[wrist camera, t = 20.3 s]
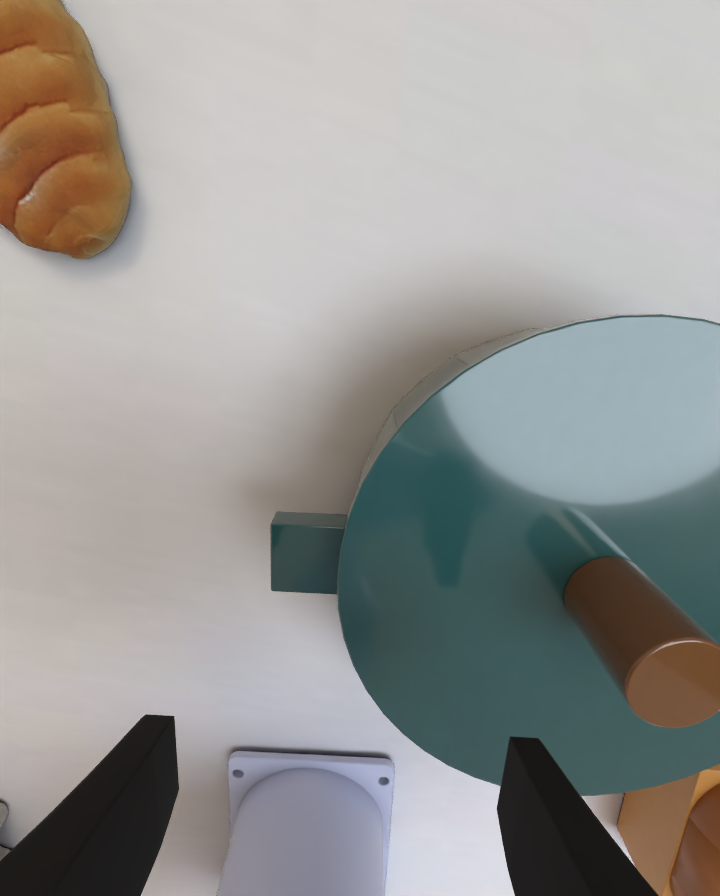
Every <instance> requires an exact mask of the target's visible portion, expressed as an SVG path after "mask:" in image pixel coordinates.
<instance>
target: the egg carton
mask: <svg viewBox="0 0 720 896" xmlns="http://www.w3.org/2000/svg"><path fill="white" fill-rule="evenodd" d="M7 816H8V808H7V806H6V805H5V804H3V803H0V827H1V826H2V824H3V823H4V822H5V820H6V818H7ZM10 851H11V850H9V849H7V848H3V847H1V846H0V860H1V859H2V858H4V857H5V856H6V855H7V854H8V853H9V852H10Z"/></svg>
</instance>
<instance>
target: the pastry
mask: <svg viewBox="0 0 720 896" xmlns="http://www.w3.org/2000/svg"><path fill="white" fill-rule="evenodd" d="M131 187H132V181H131V178H130V175H129V173H128V170H127V168H126V165H125V158H124V153H123V151H122V149H121V147H120V144H119V140H118V129H117V122H116V117H115V115H114V113H113V111H112V109H111V106H110V100H109V92H108V86H107V83H106V81H105V79H104V78H103V76H102V75H101V74H100V72H99V70H98V67H97V64H96V61H95V58H94V54H93V50H92V48H91V45H90V43H89V40H88V38H87V36H86V34H85V32H84V30H83V29H82V27H81V26H80V24H79V23H78V22H77V21H75V20H74V19H73V18H72V17H71V16H70V15H69V14H68V13H67V11H66V9H65V7H64V5H63V3H62V1H61V0H0V223H1V224H2V225H3V226H4V227H6V228H7V229H8V230H10V231H11V232H12V233H13V234H14V235H15V236H16V237H17V238H18V239H19V240H20V241H21V242H23V243H24V244H26V245H28V246H31V247H35V248H40V249H42V250H46V251H53V252H61V253H64V254H68V255H70V256H72V257H74V258H78V259H87V258H91V257H93V256H94V255H96V254H98V253H100V252H102V251H104V250H105V249H106V248H108V247H109V246H110V245H111V244H112V243H113V242H114V241H115V239H116V238H117V236H118V234H119V232H120V230H121V228H122V226H123V224H124V221H125V219H126V216H127V213H128V210H129V206H130V192H131Z"/></svg>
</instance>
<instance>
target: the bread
mask: <svg viewBox="0 0 720 896" xmlns="http://www.w3.org/2000/svg"><path fill="white" fill-rule="evenodd" d="M617 829H618V831H619V833H620V835H621V837H622V839H623V841H624V843H625V845H626V848H627V850H628V852H629V854H630V856H631V858H632V860H633V862H634V864H635V866H636V869H637V870H638V871H639V872H640V874H641V875H642V876H643V877H644V879H645V880H646V881H647V882H648V883H649V884H650V886H651V887H652V888H653V889H654V890H655V892H656V893H657V894H658V895H659V896H720V764H718V765H716V766H714V767H711V768H709V769H706V770H704V771H701V772H699V773H696V774H694V775H691V776H689V777H686V778H683V779H680V780H676V781H673V782H670V783H666V784H663V785H659V786H656V787H652V788H646V789H641V790H636V791H631V792H626V793H625V797H624V800H623V804H622V808H621V812H620V816H619V820H618V824H617Z"/></svg>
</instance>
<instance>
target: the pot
mask: <svg viewBox="0 0 720 896" xmlns="http://www.w3.org/2000/svg"><path fill="white" fill-rule="evenodd" d="M540 330H544V329H540V328H532V329H527V330H524V331H521V332H518V333H516V334H512V335H508V336H505V337H501V338H498V339H494V340H491V341H488V342H485V343H483V344H481V345H478V346H476V347H474V348H471V349H469V350H467V351H464V352H463V353H460V354H457V355H454V356H453V357H451V358H450V359H449V360H448V361H446V362H445V363H444V364H442V365H441V366H439V367H438V368H437V369H436V370H434V371H433V372H432V373H430V374H429V375H428V376H427V377H425V378H424V379H423V380H421V381H420V382H419V383H418V384H417V385H416V386H415V387H414V388H413V389H412V390H411V391H410V392H409V393H408V394H407V395H406V396H405V397H404V398H403V399H402V401H401V402H400V403H399V404H398V405H397V406H395V407H394V410H392V411H391V413H390V415H389V417H388V419H387V421H386V423H385V424H384V426H383V428H382V429H381V431H380V433H379V435H378V436H377V438H376V440H375V443H374V445H373V447H372V450H371V452H370V455H369V457H368V460H367V462H366V464H365V466H364V468H363V470H362V472H361V476H360V482H361V480H362V478H363V476H364V474H365V473H366V471H367V469H368V468H369V466H370V464H371V462H372V461H373V459H374V457H375V456H376V454H377V452H378V451H379V449H380V448H381V446H382V445H383V444H384V442H385V441H386V440H387V439H388V437H389V436H390V435H391V433H392V432H393V431H394V430H395V428H396V427H397V426H398V424H399V423H400V422H401V421H402V419H403V418H404V417H405V416H406V415H407V414H408V413H409V412H411V411H412V410H413V409H414V408H415V407H416V406H417V405H418V404H419V403H420V402H421V401H422V400H423V399H424V398H425V397H426V396H427V395H428V394H429V393H430V392H431V391H433V390H434V389H435V388H436V387H438V386H439V385H440V384H442V383H443V382H444V381H446V380H447V379H448V378H449V377H451V376H452V375H453V374H455V373H456V372H457V371H459V370H460V369H462V368H463V367H465V366H467V365H468V364H470V363H472V362H473V361H475V360H477V359H479V358H480V357H482V356H484V355H485V354H487V353H489V352H491V351H492V350H494V349H496V348H498V347H501V346H503V345H505V344H508V343H510V342H512V341H515V340H517V339H519V338H522V337H524V336H526V335H529V334H531V333H534V332H537V331H540ZM347 516H348V515H338V514H317V513H296V512H276V514H275V516H274V518H273V520H272V522H271V525H270V537H271V590H272V591H281V592H302V593H322V594H337V572H338V563H339V553H340V544H341V539H342V535H343V531H344V527H345V523H346V520H347Z"/></svg>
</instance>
